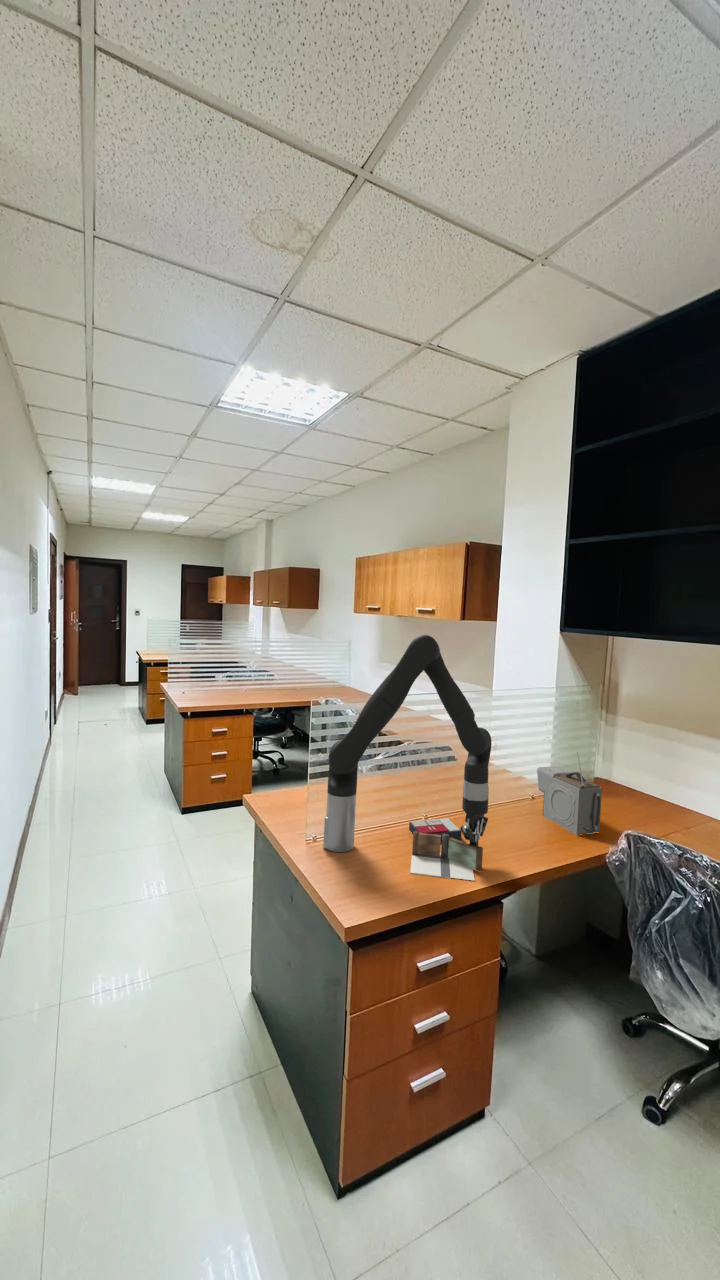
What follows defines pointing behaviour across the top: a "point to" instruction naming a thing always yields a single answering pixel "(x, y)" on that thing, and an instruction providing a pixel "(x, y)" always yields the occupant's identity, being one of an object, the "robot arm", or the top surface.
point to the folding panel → (465, 853)
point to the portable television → (570, 799)
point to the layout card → (440, 867)
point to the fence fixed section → (430, 844)
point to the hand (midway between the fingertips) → (473, 852)
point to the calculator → (436, 827)
